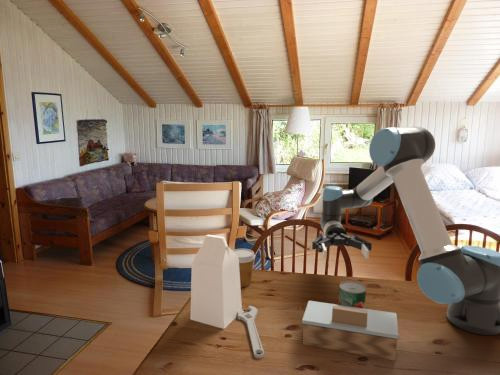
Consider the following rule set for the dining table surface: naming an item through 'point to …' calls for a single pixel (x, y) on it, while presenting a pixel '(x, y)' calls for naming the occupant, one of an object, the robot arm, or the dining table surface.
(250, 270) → the disposable coffee cup
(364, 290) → the canned tomato
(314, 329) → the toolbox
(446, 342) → the dining table surface
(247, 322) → the adjustable wrench
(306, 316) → the lid
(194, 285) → the milk
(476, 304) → the robot arm
